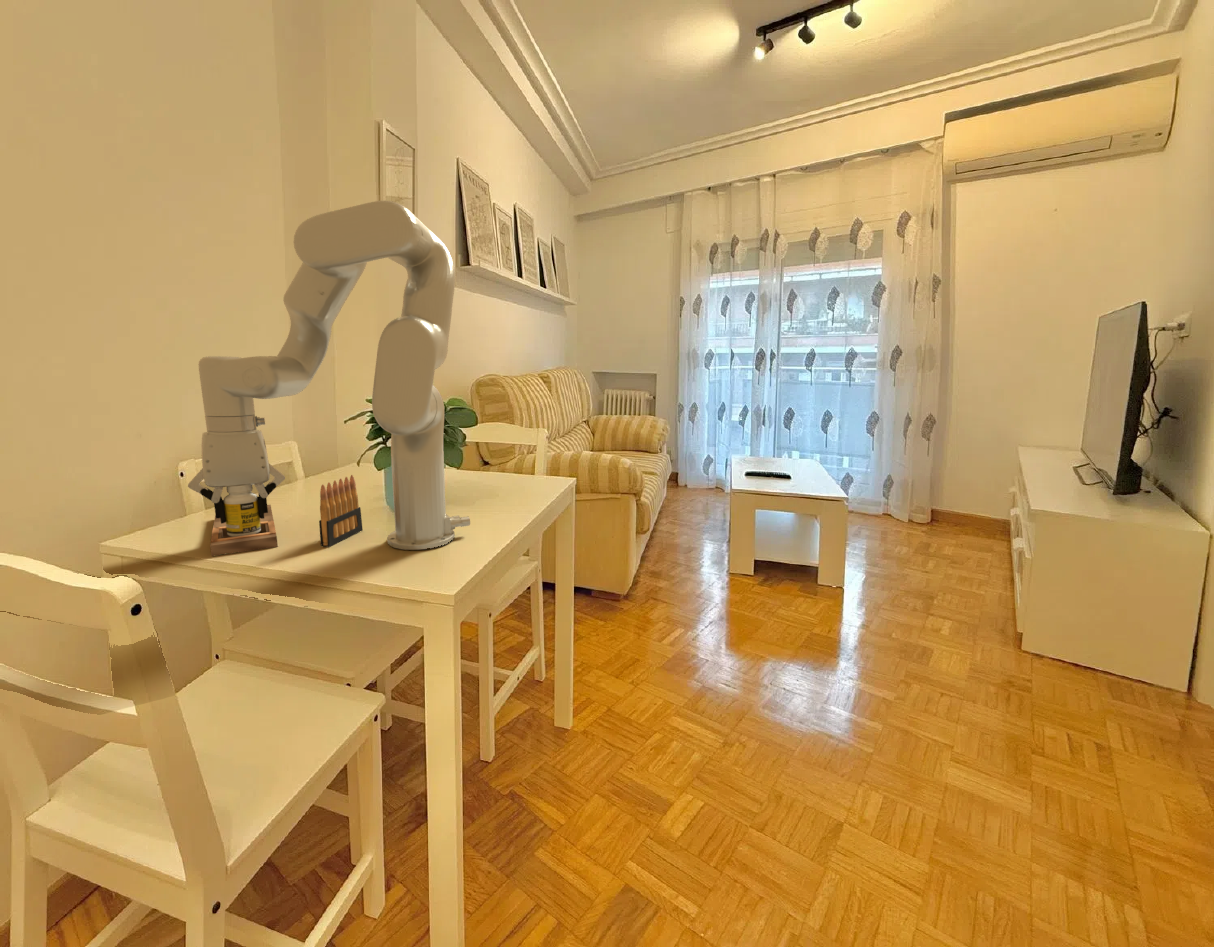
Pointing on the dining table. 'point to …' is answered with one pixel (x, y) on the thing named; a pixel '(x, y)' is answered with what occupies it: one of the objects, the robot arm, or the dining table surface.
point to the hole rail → (243, 537)
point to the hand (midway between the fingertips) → (243, 518)
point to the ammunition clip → (339, 512)
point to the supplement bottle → (241, 511)
